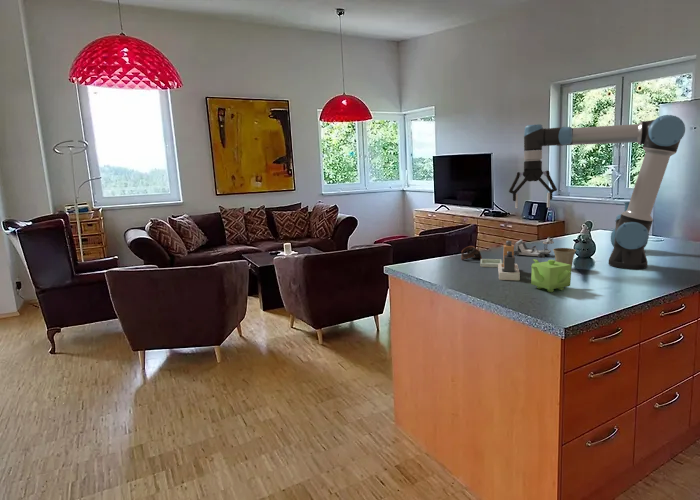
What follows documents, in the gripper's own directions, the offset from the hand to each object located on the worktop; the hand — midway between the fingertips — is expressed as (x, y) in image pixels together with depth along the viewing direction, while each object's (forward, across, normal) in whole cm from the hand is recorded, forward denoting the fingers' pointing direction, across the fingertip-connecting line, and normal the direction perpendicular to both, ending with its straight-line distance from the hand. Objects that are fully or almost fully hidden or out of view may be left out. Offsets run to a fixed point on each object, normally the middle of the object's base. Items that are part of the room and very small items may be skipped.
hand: (532, 207), depth 216 cm
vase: (+28, -52, -37) cm, 69 cm away
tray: (+26, +18, +3) cm, 32 cm away
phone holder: (+27, -4, -24) cm, 37 cm away
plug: (+26, +12, +16) cm, 33 cm away
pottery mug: (+26, +27, -9) cm, 39 cm away
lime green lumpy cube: (+27, -1, +40) cm, 49 cm away
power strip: (+26, +12, +20) cm, 35 cm away
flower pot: (+27, -13, +6) cm, 31 cm away
